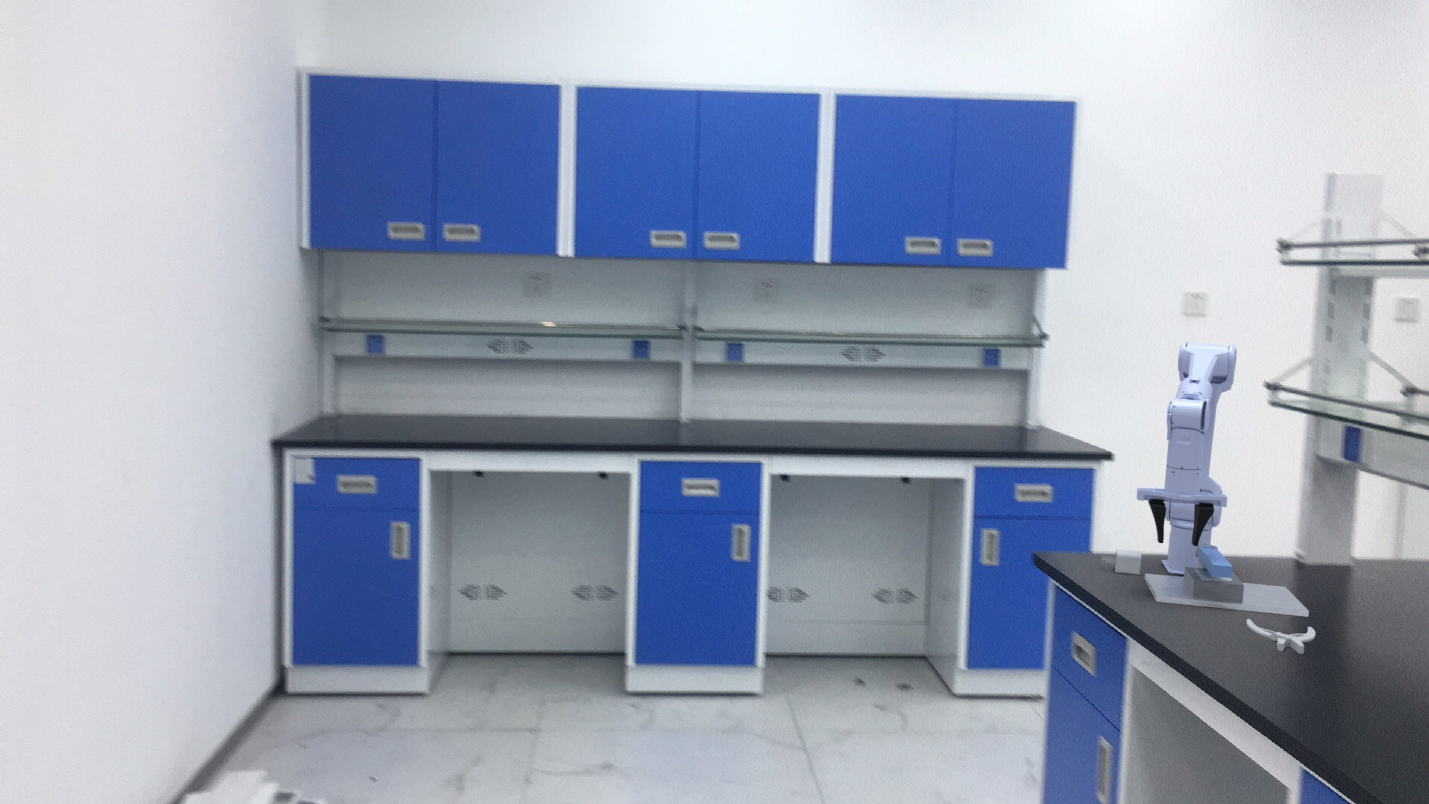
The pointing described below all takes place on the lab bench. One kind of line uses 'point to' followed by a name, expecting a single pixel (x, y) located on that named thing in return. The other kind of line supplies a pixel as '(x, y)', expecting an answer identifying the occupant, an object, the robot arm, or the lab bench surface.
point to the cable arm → (1213, 560)
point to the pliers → (1284, 637)
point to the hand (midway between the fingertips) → (1177, 543)
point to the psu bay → (1249, 597)
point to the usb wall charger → (1125, 561)
